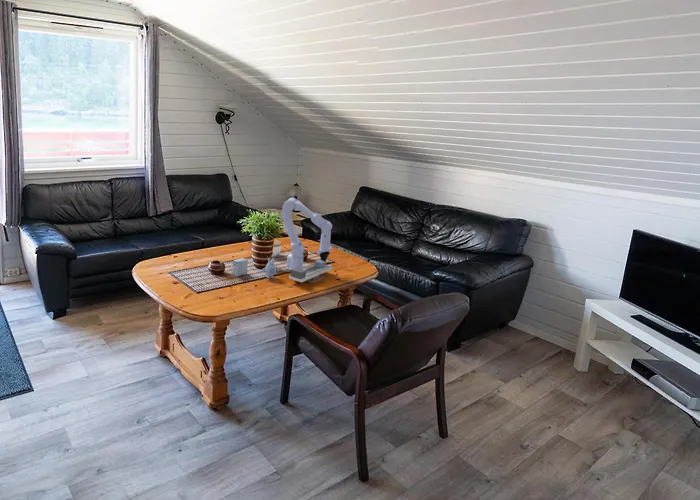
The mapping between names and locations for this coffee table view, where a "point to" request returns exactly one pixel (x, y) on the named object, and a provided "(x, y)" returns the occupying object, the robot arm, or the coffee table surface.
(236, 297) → the coffee table surface
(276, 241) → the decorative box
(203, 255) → the coffee table surface
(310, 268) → the balance beam
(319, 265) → the rider
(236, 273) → the medicine box
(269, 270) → the toy figure
